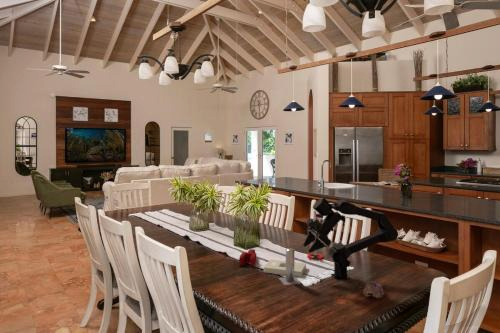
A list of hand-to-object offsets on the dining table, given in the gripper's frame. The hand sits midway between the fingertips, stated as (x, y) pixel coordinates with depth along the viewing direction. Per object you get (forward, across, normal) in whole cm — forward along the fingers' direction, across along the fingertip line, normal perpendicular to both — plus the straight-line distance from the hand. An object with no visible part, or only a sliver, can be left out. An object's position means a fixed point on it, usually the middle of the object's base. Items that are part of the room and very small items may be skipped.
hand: (306, 248), depth 159 cm
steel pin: (+15, +2, +3) cm, 16 cm away
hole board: (+15, -11, +4) cm, 19 cm away
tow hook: (+2, -29, +19) cm, 34 cm away
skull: (-5, +20, +26) cm, 34 cm away
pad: (+15, +2, +3) cm, 16 cm away
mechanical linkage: (+26, -26, -8) cm, 37 cm away
